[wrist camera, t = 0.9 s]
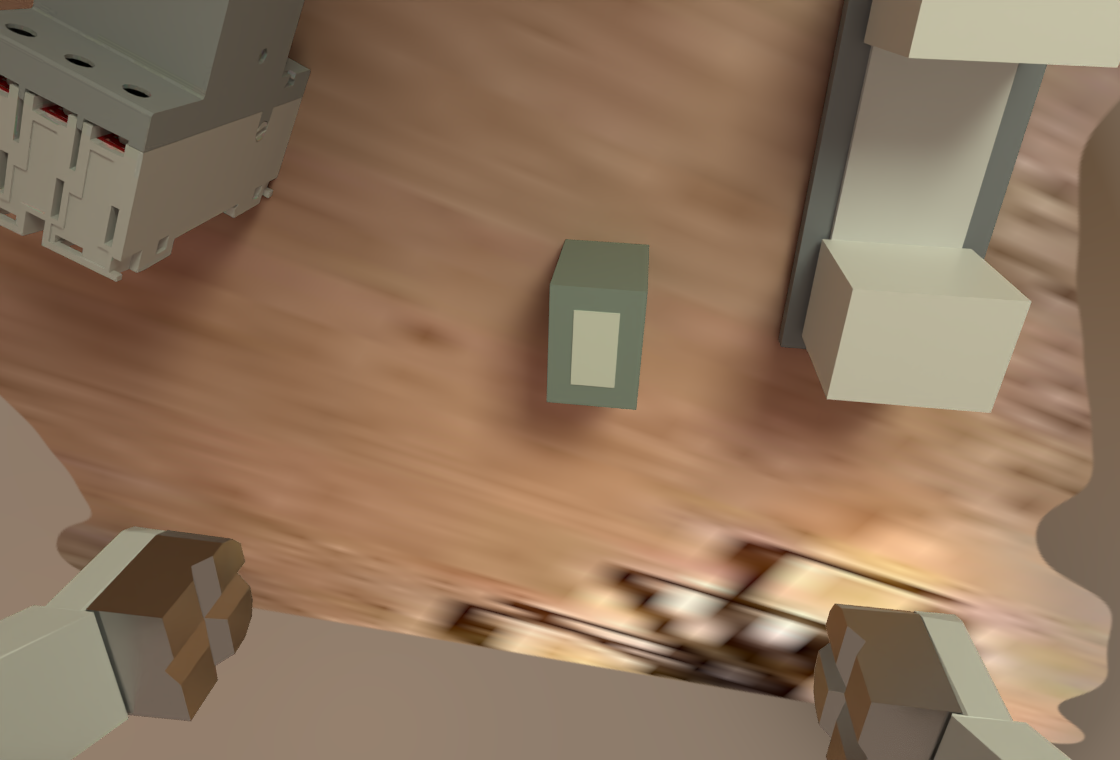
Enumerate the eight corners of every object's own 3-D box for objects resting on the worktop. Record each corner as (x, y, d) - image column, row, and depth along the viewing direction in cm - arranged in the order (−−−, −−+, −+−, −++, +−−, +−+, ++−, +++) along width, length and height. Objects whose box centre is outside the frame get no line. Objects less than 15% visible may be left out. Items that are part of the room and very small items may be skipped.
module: (565, 239, 45) (549, 285, 38) (649, 244, 44) (647, 292, 38) (562, 343, 48) (546, 402, 41) (639, 349, 48) (636, 410, 41)
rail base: (868, -126, 34) (930, -155, 27) (1096, -121, 34) (1227, -148, 26) (778, 339, 46) (802, 414, 38) (945, 352, 45) (1005, 431, 37)
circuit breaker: (346, -42, 39) (186, -50, 26) (271, 196, 45) (115, 286, 32) (210, -120, 38) (-28, -169, 25) (154, 135, 44) (-56, 203, 31)
